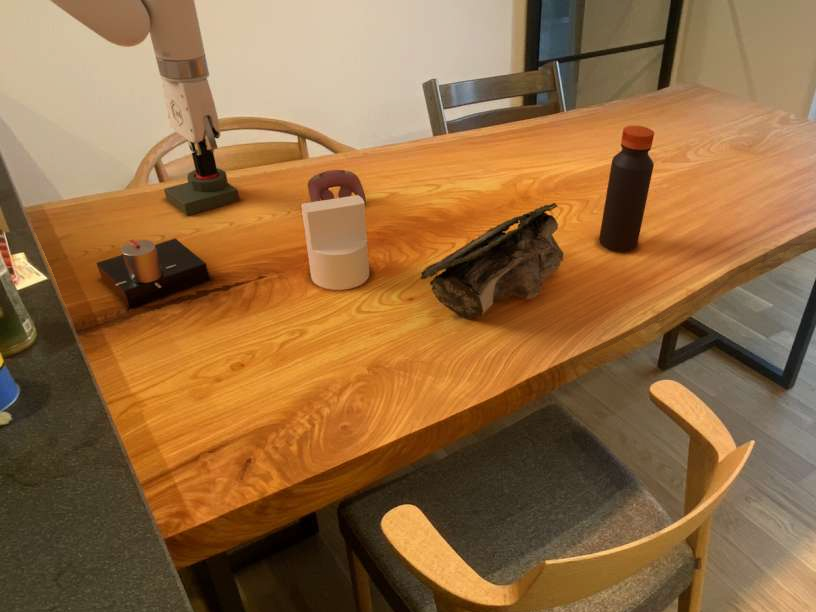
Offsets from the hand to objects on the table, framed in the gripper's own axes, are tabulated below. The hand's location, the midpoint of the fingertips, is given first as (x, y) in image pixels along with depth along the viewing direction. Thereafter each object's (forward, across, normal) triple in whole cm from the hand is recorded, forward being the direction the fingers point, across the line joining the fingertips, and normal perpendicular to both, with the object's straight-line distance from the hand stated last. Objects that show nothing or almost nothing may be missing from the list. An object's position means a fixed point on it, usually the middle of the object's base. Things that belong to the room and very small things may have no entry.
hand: (207, 173), depth 125 cm
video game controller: (+4, +17, +16) cm, 24 cm away
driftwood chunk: (+4, +57, +17) cm, 60 cm away
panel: (+4, +23, -20) cm, 31 cm away
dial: (+1, +25, -22) cm, 33 cm away
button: (+2, 0, 0) cm, 2 cm away
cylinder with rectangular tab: (+4, +38, +2) cm, 38 cm away
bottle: (+5, +60, +45) cm, 75 cm away
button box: (+4, +1, -2) cm, 5 cm away
